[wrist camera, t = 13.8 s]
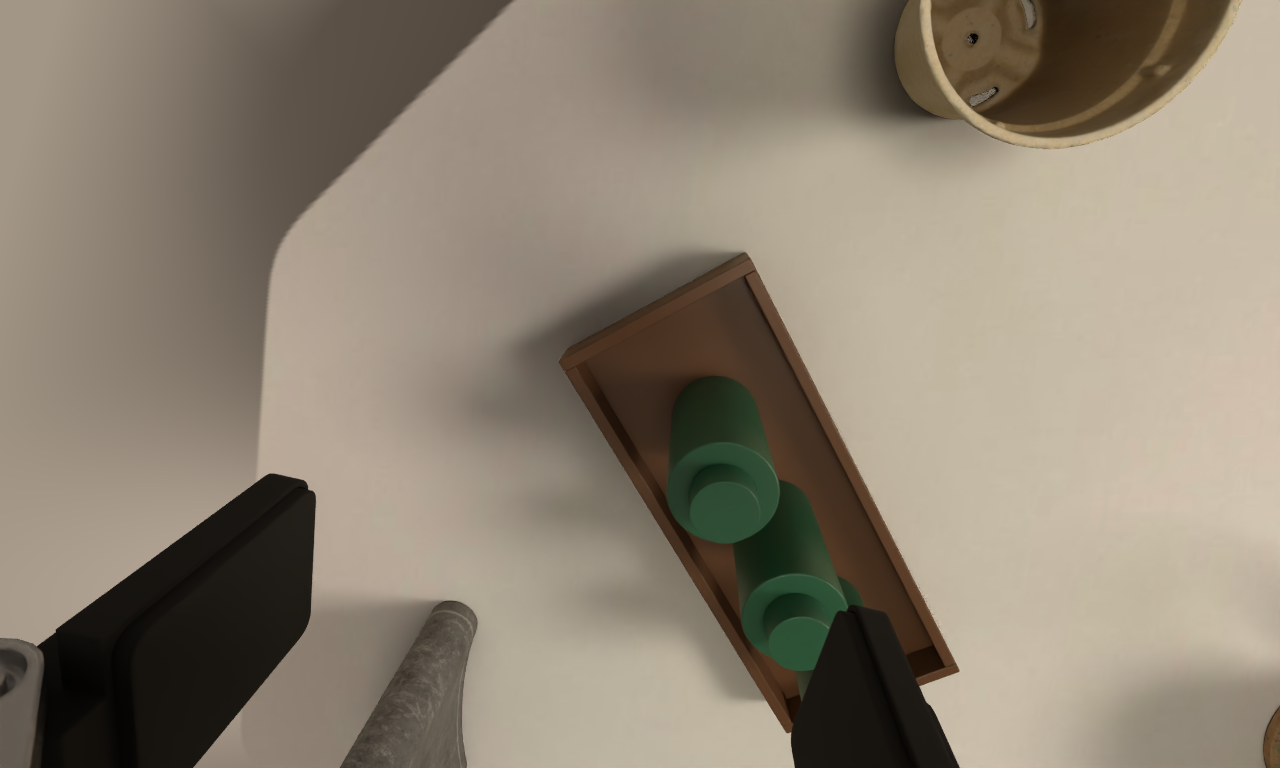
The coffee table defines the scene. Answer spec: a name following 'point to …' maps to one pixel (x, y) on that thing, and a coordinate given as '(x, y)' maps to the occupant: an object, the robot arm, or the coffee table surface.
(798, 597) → the bottle mid
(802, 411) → the tray
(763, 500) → the bottle
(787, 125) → the coffee table surface
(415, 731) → the flask
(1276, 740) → the mug
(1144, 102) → the flower pot
